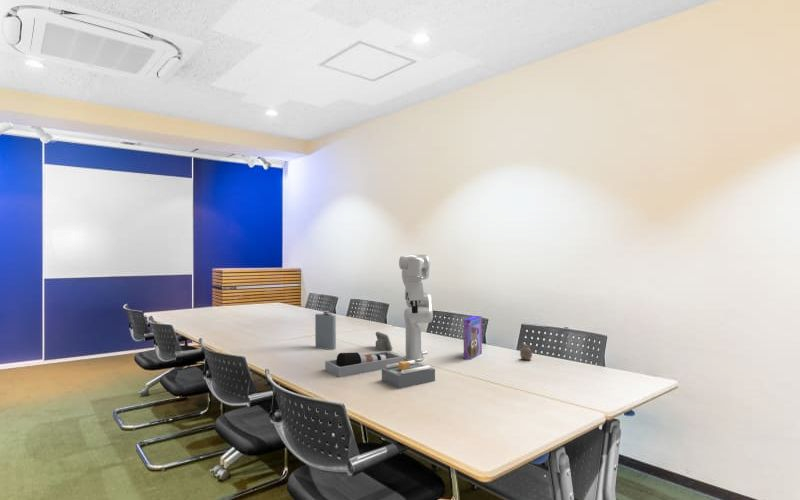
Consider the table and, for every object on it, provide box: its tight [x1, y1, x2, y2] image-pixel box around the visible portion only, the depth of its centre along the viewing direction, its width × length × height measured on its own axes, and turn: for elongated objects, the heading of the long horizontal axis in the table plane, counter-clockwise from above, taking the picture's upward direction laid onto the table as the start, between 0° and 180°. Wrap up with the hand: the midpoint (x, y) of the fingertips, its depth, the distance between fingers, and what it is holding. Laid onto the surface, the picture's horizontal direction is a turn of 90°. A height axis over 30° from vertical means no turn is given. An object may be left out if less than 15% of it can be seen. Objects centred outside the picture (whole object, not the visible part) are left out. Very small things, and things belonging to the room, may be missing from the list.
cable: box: [335, 351, 390, 367], centre depth 253 cm, size 10×34×10 cm, turn 124°
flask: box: [314, 310, 337, 351], centre depth 305 cm, size 17×5×25 cm, turn 55°
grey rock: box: [375, 331, 393, 352], centre depth 301 cm, size 16×9×11 cm, turn 17°
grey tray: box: [324, 350, 404, 378], centre depth 253 cm, size 41×17×5 cm, turn 124°
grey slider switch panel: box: [381, 362, 436, 389], centre depth 229 cm, size 22×16×6 cm
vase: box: [519, 344, 533, 361], centre depth 270 cm, size 7×7×9 cm
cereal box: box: [463, 315, 483, 360], centre depth 280 cm, size 17×5×24 cm, turn 148°
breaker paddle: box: [399, 360, 410, 370], centre depth 227 cm, size 4×4×4 cm
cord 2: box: [401, 364, 432, 375], centre depth 223 cm, size 18×2×2 cm, turn 124°
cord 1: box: [386, 360, 416, 369], centre depth 234 cm, size 18×2×2 cm, turn 124°
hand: (414, 312), depth 246 cm, fingers closed
